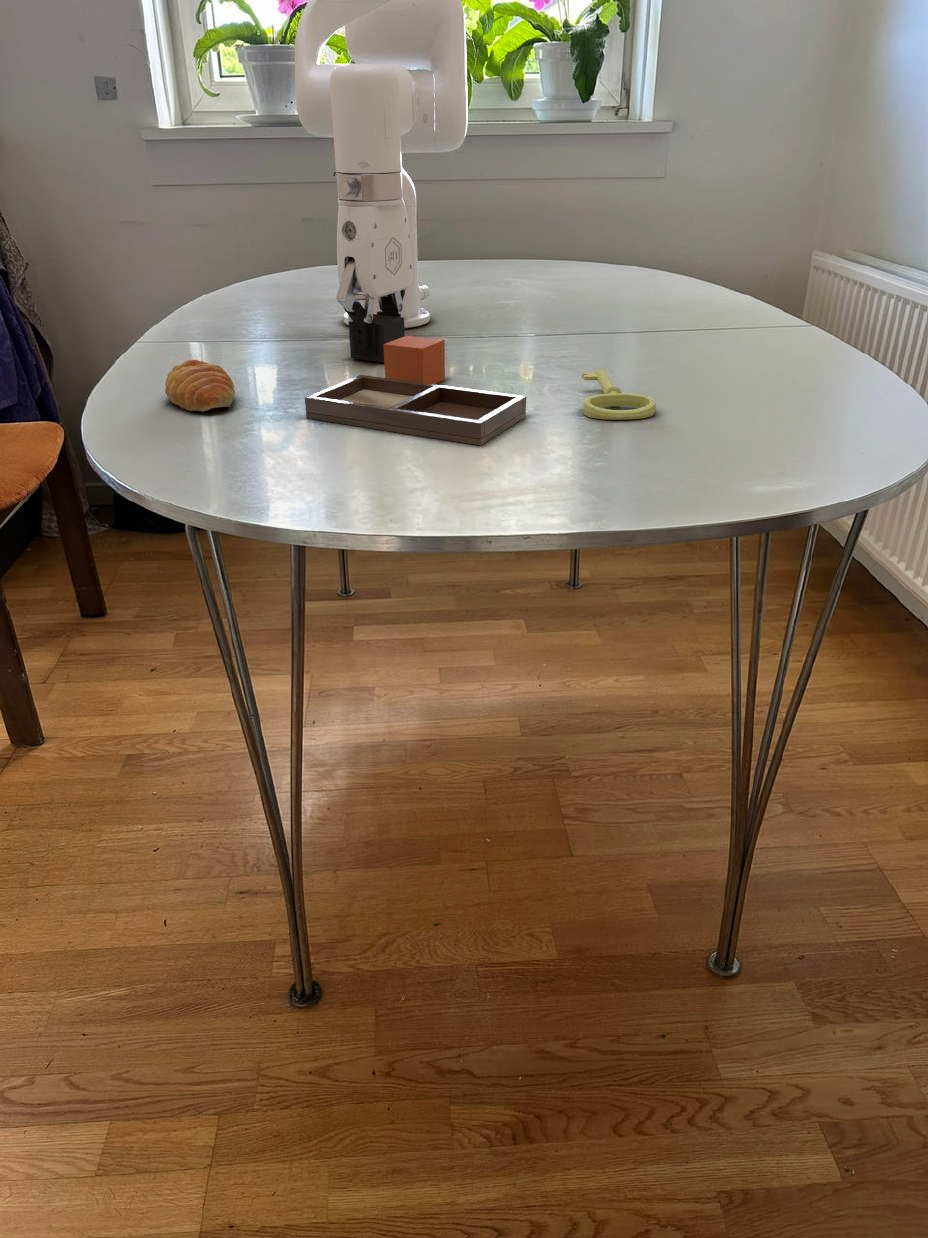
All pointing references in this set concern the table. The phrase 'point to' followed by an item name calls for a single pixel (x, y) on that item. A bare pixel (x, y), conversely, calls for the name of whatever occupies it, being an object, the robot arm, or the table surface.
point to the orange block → (415, 359)
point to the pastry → (199, 386)
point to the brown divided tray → (417, 408)
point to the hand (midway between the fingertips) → (377, 348)
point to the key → (615, 401)
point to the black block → (381, 335)
